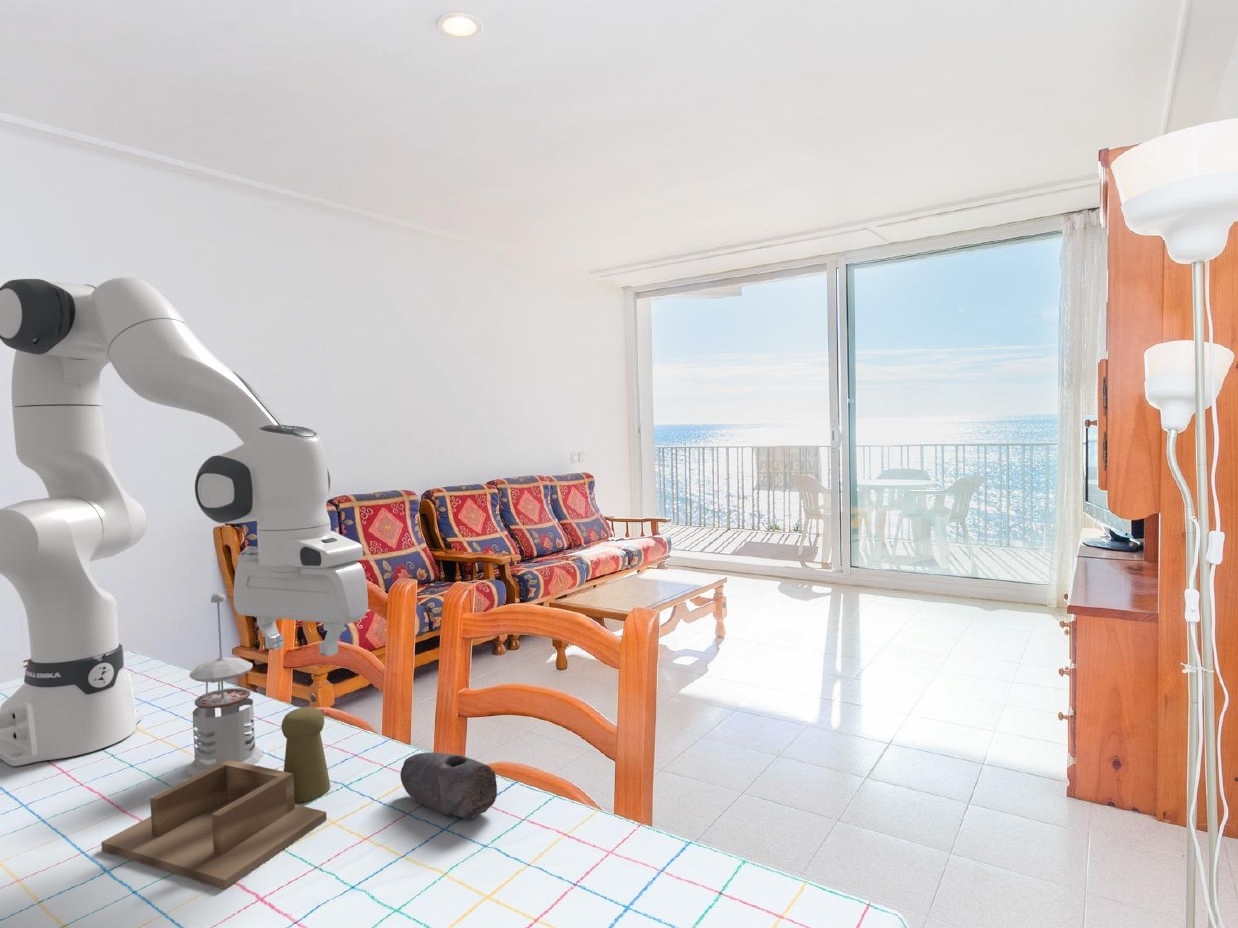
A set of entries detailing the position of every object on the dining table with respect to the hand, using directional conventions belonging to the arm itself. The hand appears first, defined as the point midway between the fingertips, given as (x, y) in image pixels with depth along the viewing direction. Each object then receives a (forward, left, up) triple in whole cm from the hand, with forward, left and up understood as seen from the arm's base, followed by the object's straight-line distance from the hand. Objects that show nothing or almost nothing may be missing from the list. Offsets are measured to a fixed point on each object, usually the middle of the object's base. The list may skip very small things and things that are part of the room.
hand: (301, 651), depth 93 cm
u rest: (-2, -11, -19) cm, 22 cm away
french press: (-19, +3, -19) cm, 27 cm away
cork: (0, 0, -19) cm, 19 cm away
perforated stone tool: (+20, +3, -19) cm, 28 cm away
